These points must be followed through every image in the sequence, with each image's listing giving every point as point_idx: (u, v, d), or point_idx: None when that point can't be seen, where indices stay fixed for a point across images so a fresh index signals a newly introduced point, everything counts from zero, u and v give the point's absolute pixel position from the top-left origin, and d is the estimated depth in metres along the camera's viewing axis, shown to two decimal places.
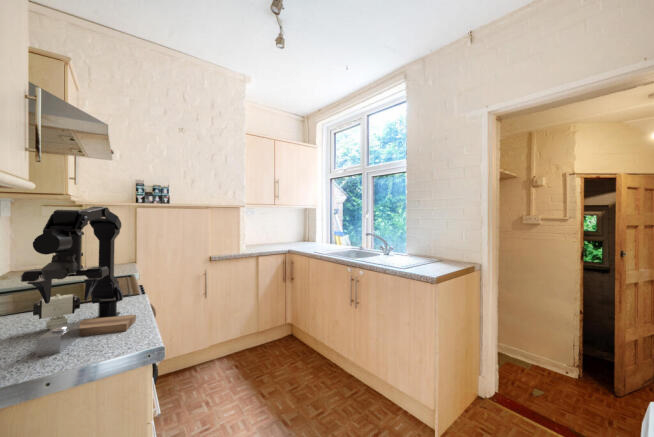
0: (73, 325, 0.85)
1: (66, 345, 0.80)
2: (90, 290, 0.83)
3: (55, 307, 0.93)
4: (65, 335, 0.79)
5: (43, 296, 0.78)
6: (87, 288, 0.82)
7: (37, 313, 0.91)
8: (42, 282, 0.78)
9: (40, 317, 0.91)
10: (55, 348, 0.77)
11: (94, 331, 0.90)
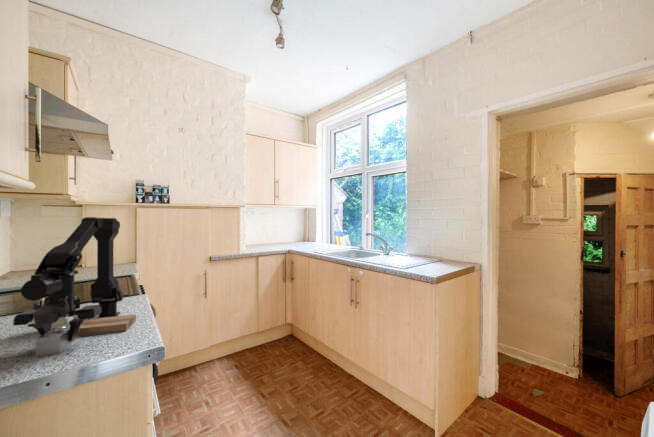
0: None
1: (66, 345, 0.80)
2: (75, 331, 0.83)
3: None
4: (64, 335, 0.79)
5: None
6: (72, 329, 0.81)
7: None
8: (42, 324, 0.79)
9: None
10: (55, 348, 0.77)
11: (94, 331, 0.90)
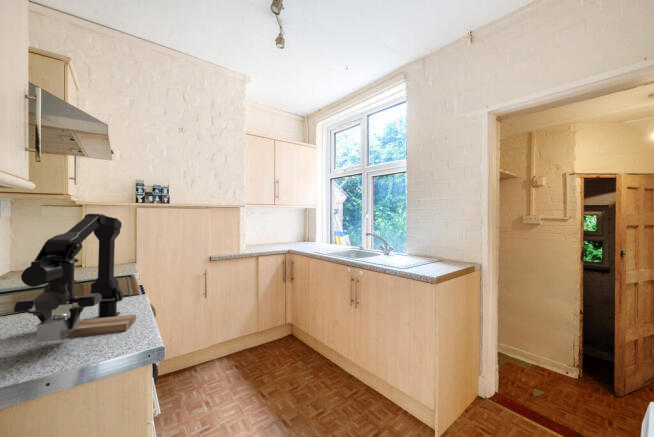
0: None
1: (66, 332, 0.80)
2: (75, 318, 0.83)
3: None
4: (65, 322, 0.79)
5: None
6: (72, 317, 0.82)
7: None
8: (43, 311, 0.79)
9: None
10: (55, 334, 0.77)
11: (94, 331, 0.90)
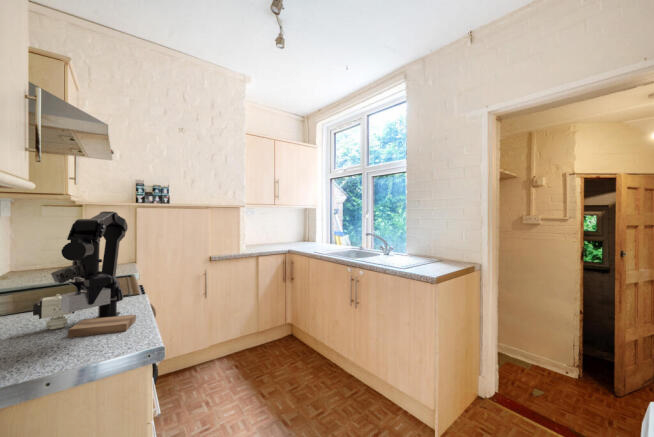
0: (102, 290, 0.91)
1: (82, 306, 0.86)
2: (92, 295, 0.87)
3: (55, 307, 0.93)
4: (79, 297, 0.85)
5: None
6: (87, 293, 0.86)
7: (37, 313, 0.91)
8: (76, 283, 0.89)
9: (40, 317, 0.91)
10: (67, 307, 0.83)
11: (94, 331, 0.90)
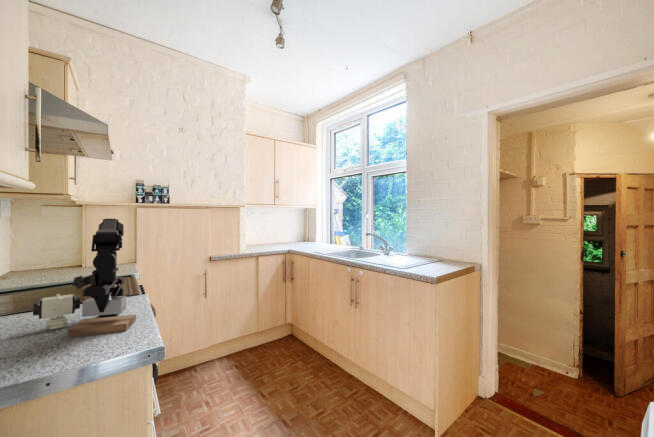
0: (115, 299, 0.95)
1: (94, 313, 0.92)
2: (99, 304, 0.92)
3: (55, 307, 0.93)
4: (91, 303, 0.92)
5: None
6: None
7: (37, 313, 0.91)
8: None
9: (40, 317, 0.91)
10: None
11: (94, 331, 0.90)
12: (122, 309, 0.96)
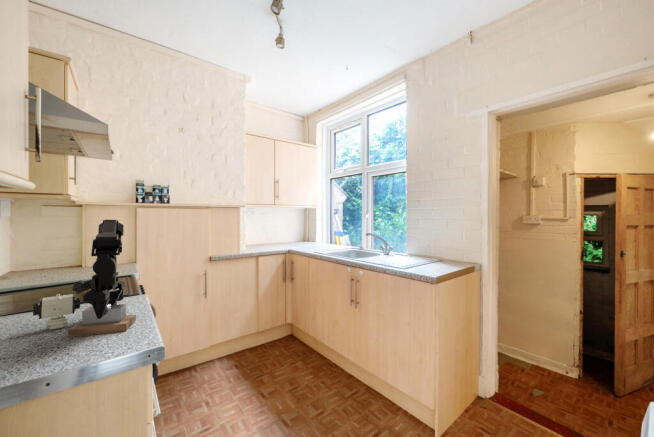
0: (114, 307, 0.95)
1: (94, 322, 0.92)
2: (97, 310, 0.90)
3: (55, 307, 0.93)
4: (90, 312, 0.92)
5: None
6: None
7: (37, 313, 0.91)
8: None
9: (40, 317, 0.91)
10: None
11: (94, 331, 0.90)
12: (122, 318, 0.96)
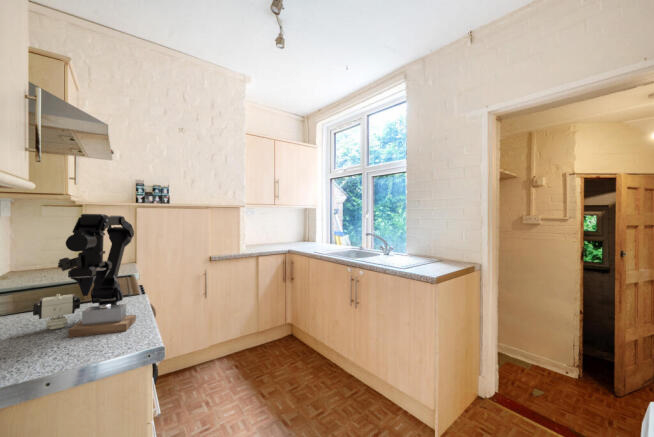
0: (114, 307, 0.95)
1: (94, 322, 0.92)
2: (83, 287, 0.89)
3: (55, 307, 0.93)
4: (90, 312, 0.92)
5: None
6: None
7: (37, 313, 0.91)
8: None
9: (40, 317, 0.91)
10: None
11: (94, 331, 0.90)
12: (122, 318, 0.96)
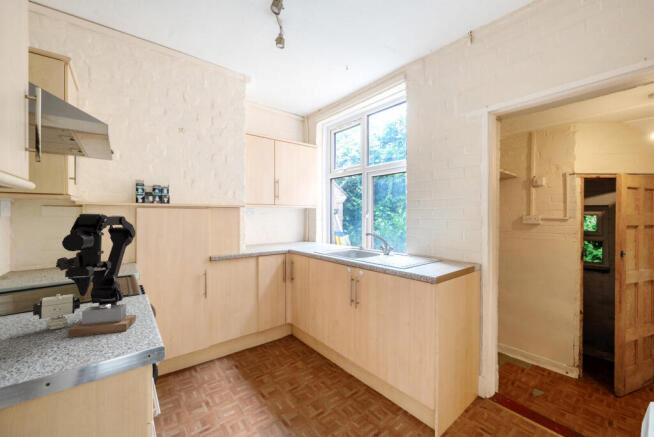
0: (114, 307, 0.95)
1: (94, 322, 0.92)
2: (81, 287, 0.89)
3: (55, 307, 0.93)
4: (90, 312, 0.92)
5: None
6: None
7: (37, 313, 0.91)
8: None
9: (40, 317, 0.91)
10: None
11: (94, 331, 0.90)
12: (122, 318, 0.96)
